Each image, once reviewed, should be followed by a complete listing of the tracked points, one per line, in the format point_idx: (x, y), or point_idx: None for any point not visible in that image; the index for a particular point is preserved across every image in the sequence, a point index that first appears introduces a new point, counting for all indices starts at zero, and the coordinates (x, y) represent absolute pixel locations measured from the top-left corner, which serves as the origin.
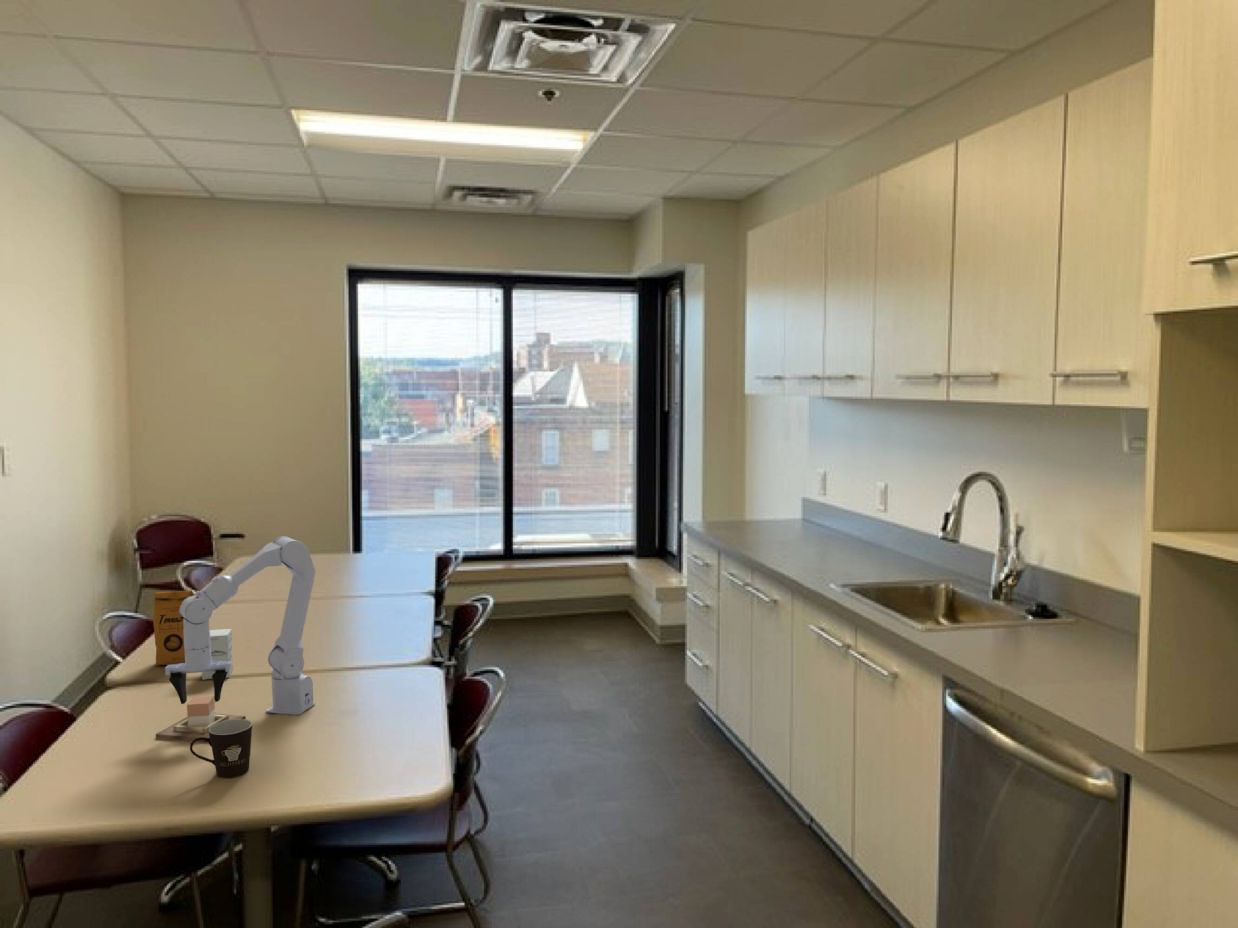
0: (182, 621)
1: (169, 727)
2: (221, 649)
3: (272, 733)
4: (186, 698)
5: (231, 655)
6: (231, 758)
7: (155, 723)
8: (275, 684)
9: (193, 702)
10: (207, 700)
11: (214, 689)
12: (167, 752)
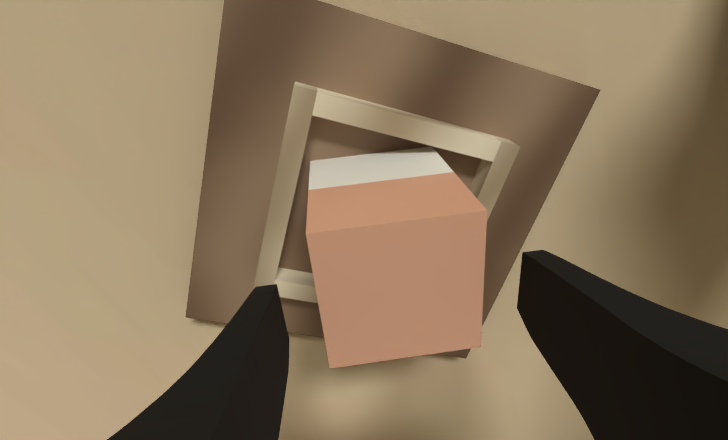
0: None
1: (206, 242)
2: None
3: (712, 265)
4: (274, 297)
5: None
6: None
7: (24, 103)
8: None
9: (360, 331)
10: (456, 295)
11: (580, 410)
12: (332, 416)
